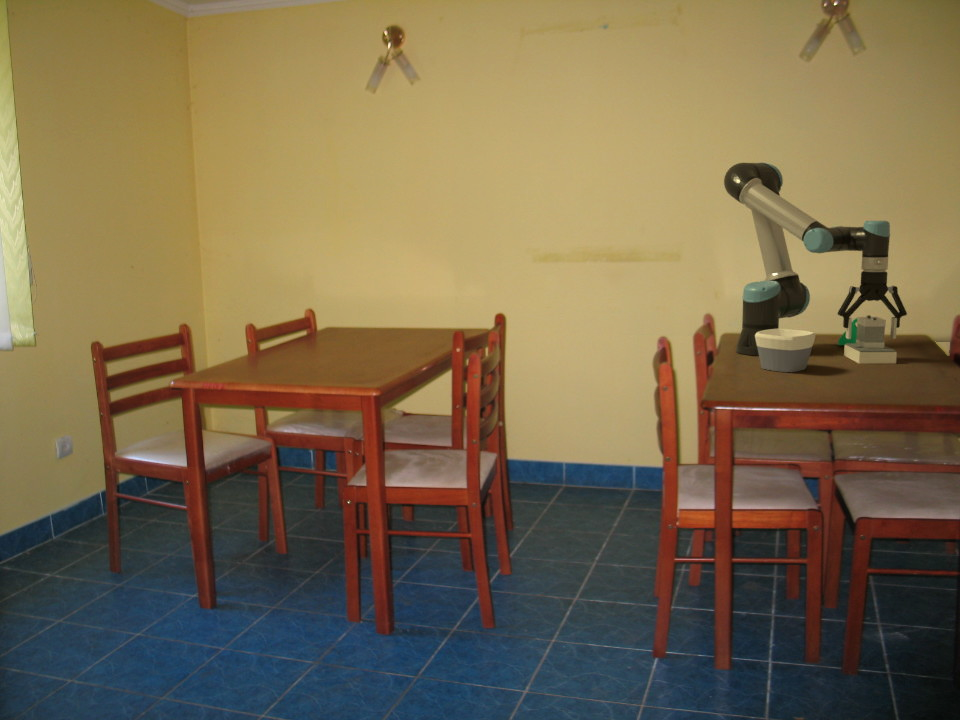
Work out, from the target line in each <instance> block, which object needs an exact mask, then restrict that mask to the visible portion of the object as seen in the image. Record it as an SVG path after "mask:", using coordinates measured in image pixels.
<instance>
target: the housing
mask: <svg viewBox="0 0 960 720" xmlns="http://www.w3.org/2000/svg"><path fill="white" fill-rule="evenodd" d="M856 318H857V323H856V324H857V325H856V326H857V339H856V345H857V346H859V347H861V348H863V349H884V346H885V332H886V331H885V330H886V322H887V320H886V319H884V318H882V317H879V316H872V315H866V316H857V317H856Z"/></svg>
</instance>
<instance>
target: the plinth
mask: <svg viewBox="0 0 960 720" xmlns="http://www.w3.org/2000/svg"><path fill="white" fill-rule="evenodd" d="M843 351H844V353H843V356H844V357H847V358H848V359H850V360H852V361H854V362H855V363H857V364H859V365H860V364H861V365H862V364H864V365H865V364H869V365H871V364H873V365H875V364H876V365H877V364H879V365H880V364H881V365H884V364H887V365H888V364H897V351H896V350H895V349H893V348H891V347H888V346H886V345H884V349H863V348H861V347H859V346H857V345H856V343H846V345H844V349H843Z"/></svg>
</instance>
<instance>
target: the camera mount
mask: <svg viewBox="0 0 960 720" xmlns="http://www.w3.org/2000/svg"><path fill="white" fill-rule="evenodd" d="M856 324H857V317H856V318H854V319H852V326H851V339H847V338H846V330H845V331H844V332H843V333H842V334H841V336H840V337H839V339H838V345H839V346H845V345H846V343H856V339H857V325H856ZM838 345H837V346H838Z"/></svg>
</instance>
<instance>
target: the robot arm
mask: <svg viewBox="0 0 960 720" xmlns="http://www.w3.org/2000/svg"><path fill="white" fill-rule="evenodd" d="M783 182H784V179H783V175H782V172H781V170H780V169H779V168H778V167H777V166H775V165H774V164H771V163H766V162H739V163H735V164H733V165H732V166H731V167H730V168H728V169H727V171H726V172H725V175H724V179H723V185H724V189H725V191H726V193H727V194H728V195H729V196H730V197H732V198H733V199H734V200H735V201H737V202H739V203H740V204H742V205H745V207H746V208H747V209H749V210H750V211H751V214H752V219H753V223H754V228H755V232H756V235H757V236H756V237H757V241H758V246H759V249H760V253H761V258H762V262H763V266H764V271H765V274H766V276H765V279H764V280H760V281H753V282H750V283H747V284H746V285H745V286H744V287H743V292H742V318H741V319H742V321H741V322H742V323H741V325H742V326H741V330H740V334H739V337H738V340H737V342H736V345H735V352H736V354H741V355H746V356H758V357H759V353H758V348H757V344H756V339H755V334H756V333H757V332H759V331H763V330H770V329H780V328H779V326H780V319H785V318H789V319H790V318H793V317H797V316H798V315H801V314H803V313H804V312H805V311H806V310H807V307H808V306H809V304H810V300H811V295H810V291H809V288H808V287H807V285H805V284H804V283H803V282H801V280H800V275H799V274H798V273H797V272H796V271H793V267H792V264H791V263H792V262H791V259H790V253H789V249H788V246H787V241H786V238H785V237H786V236H785V233H784V230H785V231H787V232H788V233H789V234H791V235H793V236H795V238H797V239H799V240H800V241H801V242H803V244H804V247H805V249H806V250H807V251H808V252H810V253H813V254H815V253H816V254H824V253H833V252H834V253H835V252H845V251H847V252H848V251H850V252H856V251H857V252H861V270H862V271H861V272H860V284H859V285H860V286H859V287H857V286H853V285H851V286H850V287H849V290H848V294H847V295H846V296H845V299H844V301H843V302H842V305H841V306H840V308H839V310H838V312H837V316H839V317H842V318H843V319H842V320H843V321H842V322H843V323H842V325H843V328H844V329H845V331H846V338H847V339H851V326H852V322H853V318H852V317H851V316H852V315H853V314H854V313H855V312H856V311H857V310H858V309H859V308H860V306H861V305H862V304H863V303H864V302H866V301H868V302H871V301H876V302H878V301H879V302H880V301H881V302H882V303H883V305H885V307H886V308H887V309H888V311H889V312H890V313H891V314H892V315H893V316H891V319H890V335H889V337H890V339H894V340H895V339H897V329H898V328H900V326H901V325H900V324H901V319H902V317H905V316H907V315H908V312H907V310H906V308H905V306H904V304H903V301H902V299H901V298H900V295H899V292H898V288H899V287H897V286H896V285H891V286H888V285H887V284H888V272H887V270H888V269H889V252H890V251H889V249H890V248H889V247H890V237H891V225H890V222H889V221H888V220H866V221H864V222H863V226H842V225H840V226H831V227H827V226H826V225H824V224H823V223H821V222H820V221H818V220H817V219H815V218H813V217H812V216H810V215H809V214H807V213H806V212H805V211H803V210H801V209H800V208H799V207H797V206H796V205H794V204H792V203H791V202H790V201H788V200H786V199H785V198H783V197H782V196H781V195H780V192H781V189H782V187H783ZM858 292H859V294H860V296H858V297H857V299H856V300H855V301H854V303H853V304H852V305H850V304H851V303H852V302H853V299H854V298H855V295H857V294H858ZM887 292H888V293H889V294H891V297H892V298H893V301H894V303H895V305H896V307H897V308H896V307H895V306H894V305H893V304H892V302H891V301H890V300H889V298H888V297H887V296H886V294H887Z"/></svg>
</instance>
